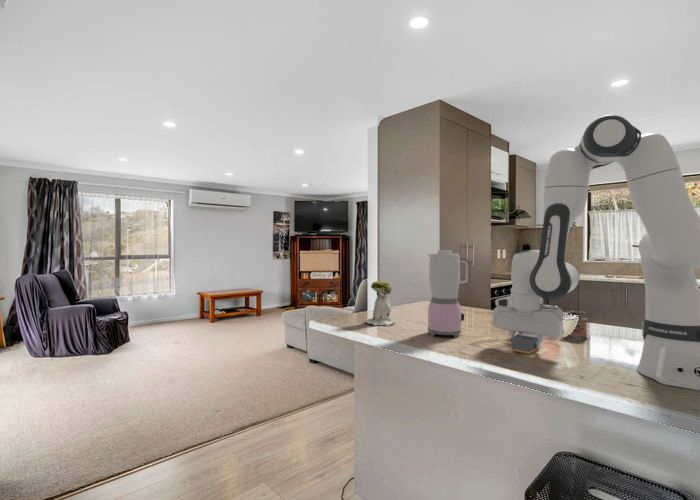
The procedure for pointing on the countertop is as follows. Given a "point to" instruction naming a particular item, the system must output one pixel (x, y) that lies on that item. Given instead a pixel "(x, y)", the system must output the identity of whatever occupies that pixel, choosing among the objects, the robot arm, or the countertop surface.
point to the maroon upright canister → (578, 327)
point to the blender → (446, 293)
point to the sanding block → (524, 343)
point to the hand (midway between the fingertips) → (526, 347)
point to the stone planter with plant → (381, 304)
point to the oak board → (504, 347)
